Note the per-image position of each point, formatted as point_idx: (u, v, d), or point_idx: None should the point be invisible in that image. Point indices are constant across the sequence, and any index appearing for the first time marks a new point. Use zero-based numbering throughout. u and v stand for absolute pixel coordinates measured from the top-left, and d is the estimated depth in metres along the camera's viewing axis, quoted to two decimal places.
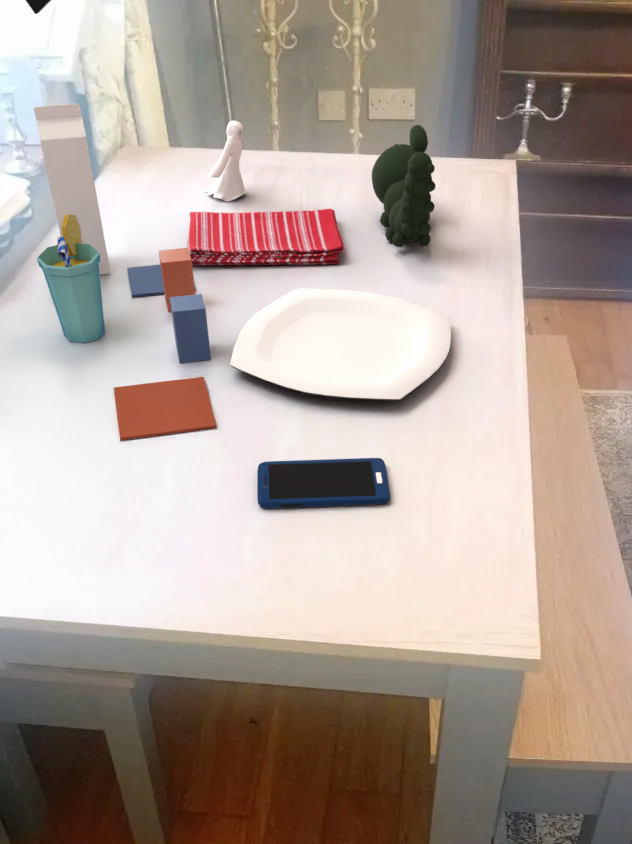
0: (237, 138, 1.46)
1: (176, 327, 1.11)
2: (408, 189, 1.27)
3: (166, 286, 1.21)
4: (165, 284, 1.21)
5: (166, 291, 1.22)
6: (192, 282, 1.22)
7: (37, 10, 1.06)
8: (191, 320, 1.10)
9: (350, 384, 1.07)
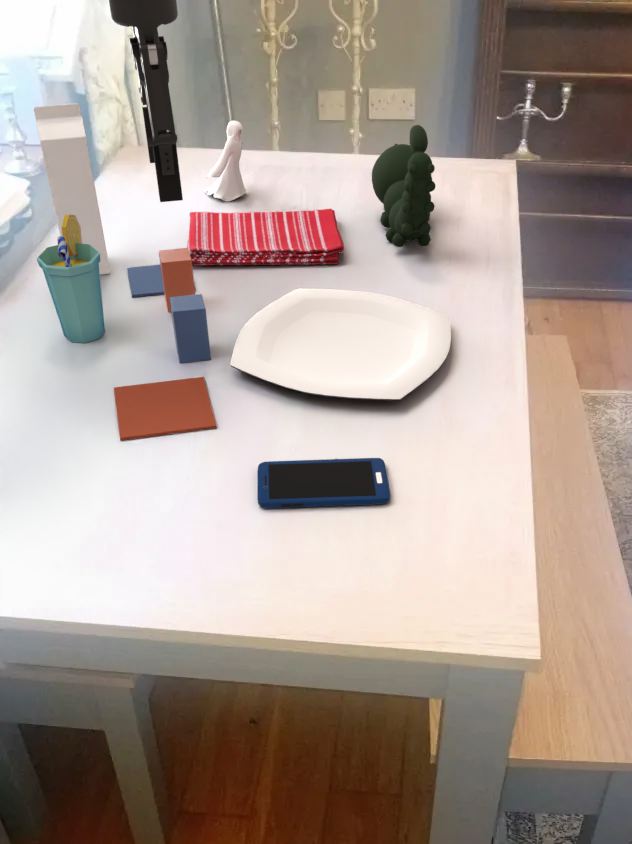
0: (237, 138, 1.46)
1: (176, 327, 1.11)
2: (408, 189, 1.27)
3: (166, 286, 1.21)
4: (165, 284, 1.21)
5: (166, 291, 1.22)
6: (192, 282, 1.22)
7: (154, 161, 1.18)
8: (191, 320, 1.10)
9: (350, 384, 1.07)
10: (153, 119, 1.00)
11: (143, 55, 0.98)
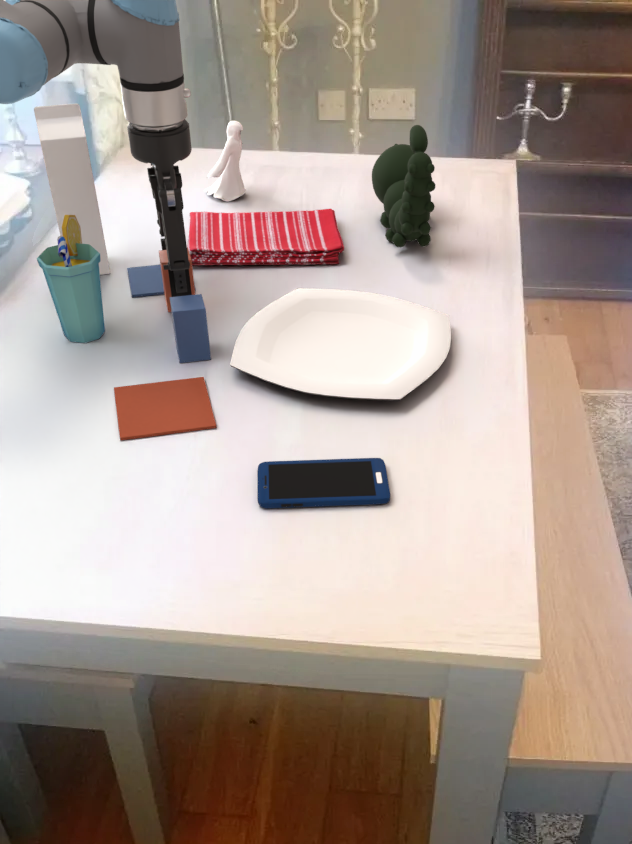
0: (237, 138, 1.46)
1: (176, 327, 1.11)
2: (408, 189, 1.27)
3: (166, 286, 1.21)
4: (165, 284, 1.21)
5: (166, 291, 1.22)
6: (192, 282, 1.22)
7: None
8: (191, 320, 1.10)
9: (350, 384, 1.07)
10: (169, 252, 1.14)
11: (162, 201, 1.09)
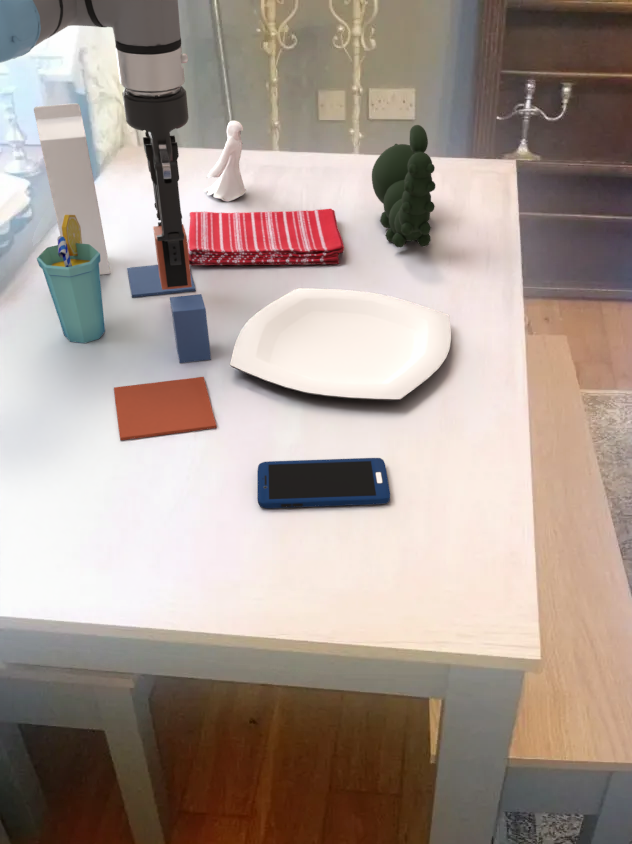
0: (237, 138, 1.46)
1: (176, 327, 1.11)
2: (408, 189, 1.27)
3: (160, 263, 1.19)
4: (159, 261, 1.19)
5: (160, 268, 1.19)
6: (187, 259, 1.19)
7: None
8: (191, 320, 1.10)
9: (350, 384, 1.07)
10: (164, 223, 1.12)
11: (158, 174, 1.07)
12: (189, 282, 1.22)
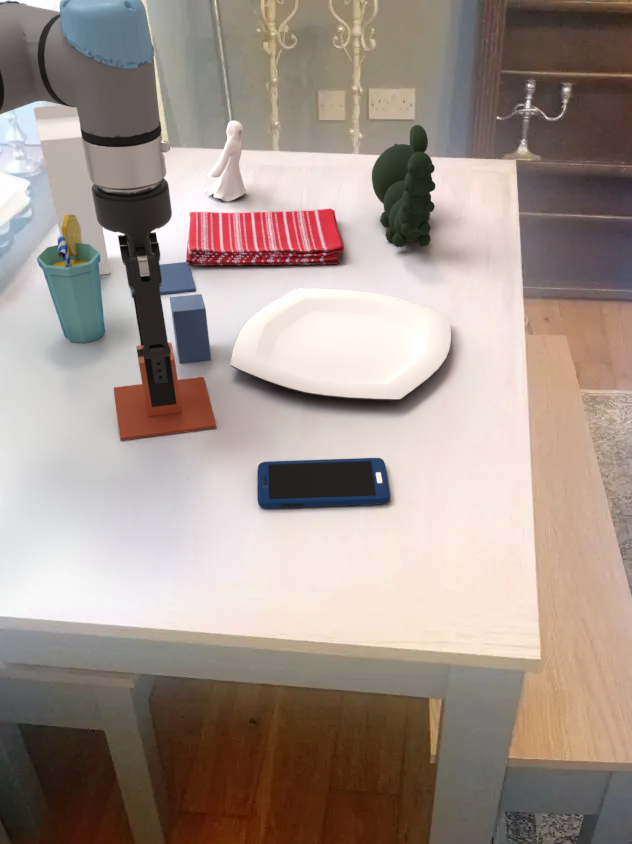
0: (237, 138, 1.46)
1: (176, 327, 1.11)
2: (408, 189, 1.27)
3: (145, 389, 1.02)
4: (144, 387, 1.02)
5: (145, 394, 1.02)
6: (176, 383, 1.02)
7: None
8: (191, 320, 1.10)
9: (350, 384, 1.07)
10: (144, 333, 0.90)
11: (133, 268, 0.87)
12: (179, 408, 1.05)
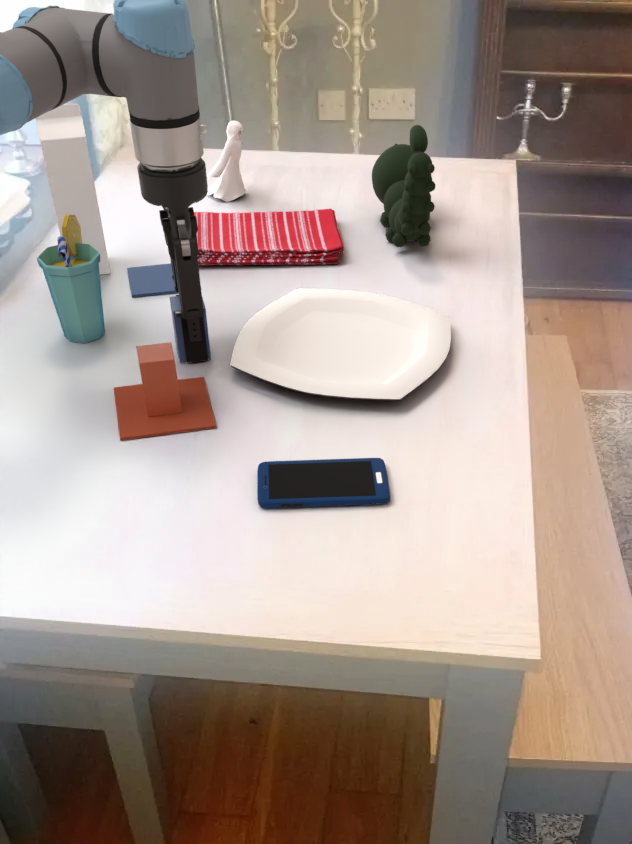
0: (237, 138, 1.46)
1: (176, 326, 1.11)
2: (408, 189, 1.27)
3: (145, 389, 1.02)
4: (144, 387, 1.02)
5: (145, 394, 1.02)
6: (176, 383, 1.02)
7: None
8: None
9: (350, 384, 1.07)
10: (183, 301, 1.05)
11: (176, 252, 1.00)
12: (179, 408, 1.05)
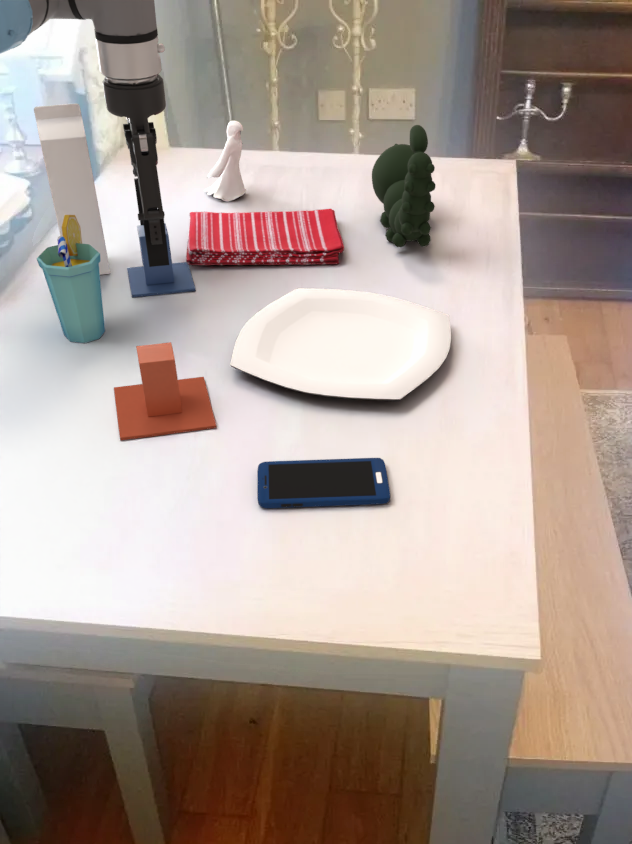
0: (237, 138, 1.46)
1: (142, 251, 1.25)
2: (408, 189, 1.27)
3: (145, 389, 1.02)
4: (144, 387, 1.02)
5: (145, 394, 1.02)
6: (176, 383, 1.02)
7: None
8: None
9: (350, 384, 1.07)
10: (143, 198, 1.13)
11: (135, 143, 1.11)
12: (179, 408, 1.05)
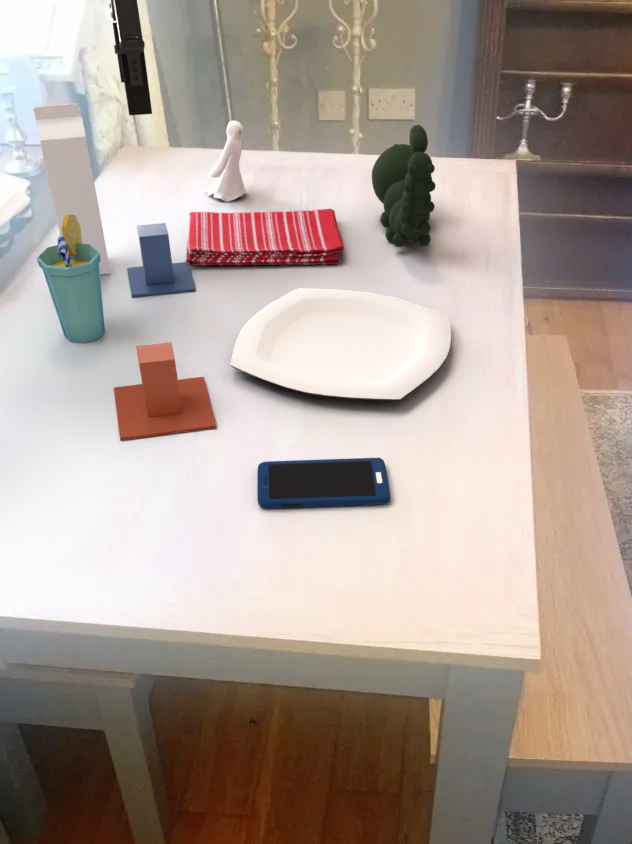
0: (237, 138, 1.46)
1: (142, 251, 1.25)
2: (408, 189, 1.27)
3: (145, 389, 1.02)
4: (144, 387, 1.02)
5: (145, 394, 1.02)
6: (176, 383, 1.02)
7: None
8: (156, 245, 1.25)
9: (350, 384, 1.07)
10: (120, 24, 0.98)
11: None
12: (179, 408, 1.05)
